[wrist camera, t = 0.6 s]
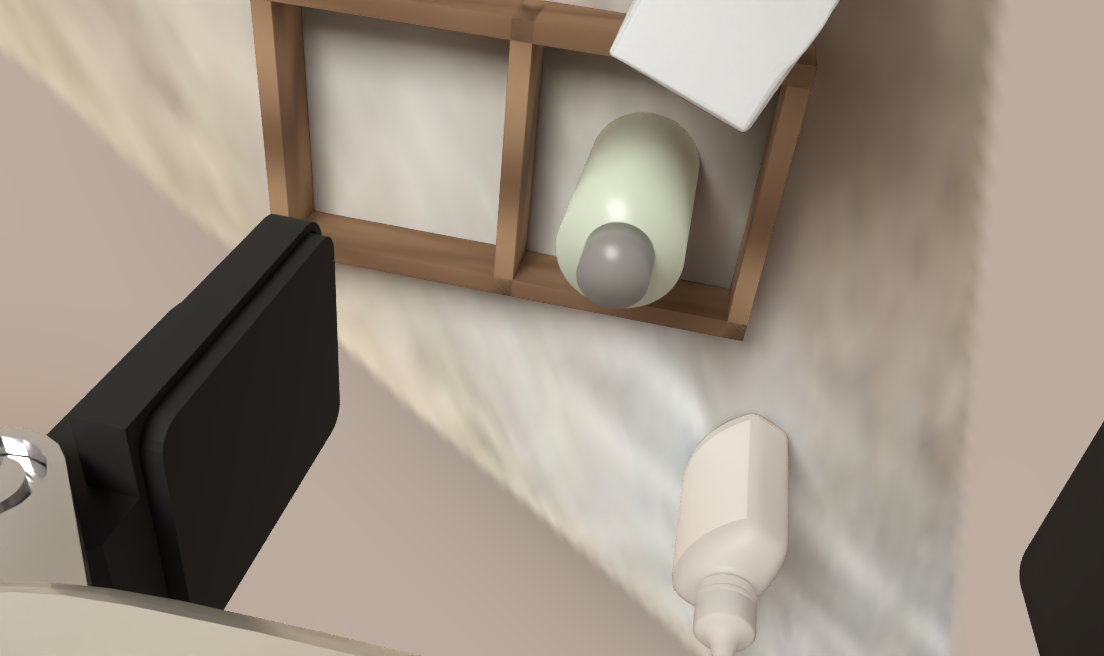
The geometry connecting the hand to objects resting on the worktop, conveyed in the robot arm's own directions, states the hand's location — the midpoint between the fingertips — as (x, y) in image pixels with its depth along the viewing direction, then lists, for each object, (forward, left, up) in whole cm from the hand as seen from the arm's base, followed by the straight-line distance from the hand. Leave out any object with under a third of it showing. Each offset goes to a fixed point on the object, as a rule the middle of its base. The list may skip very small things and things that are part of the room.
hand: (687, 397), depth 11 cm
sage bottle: (+9, -2, -25) cm, 27 cm away
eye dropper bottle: (+23, +4, -26) cm, 35 cm away
